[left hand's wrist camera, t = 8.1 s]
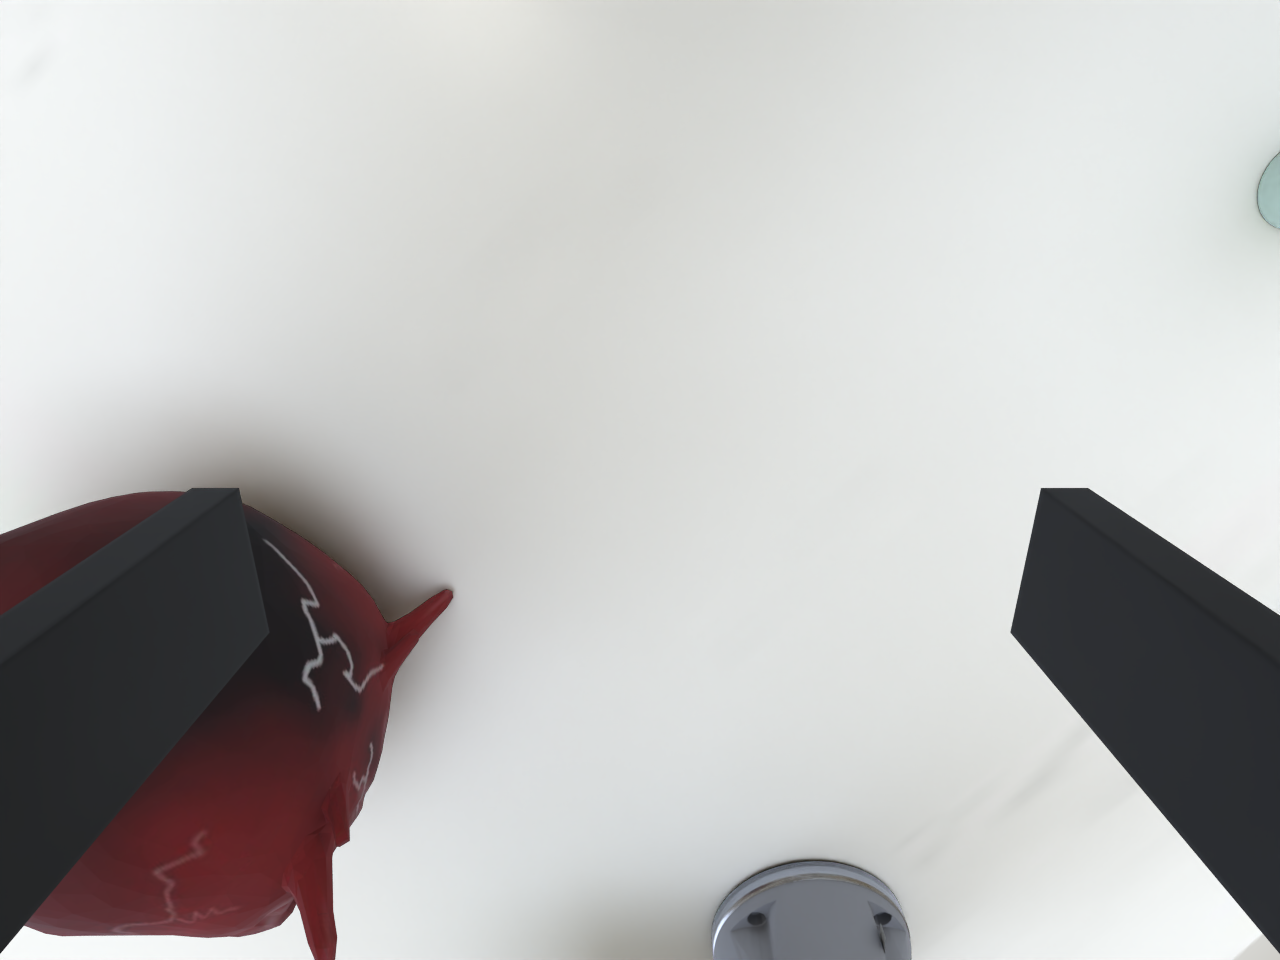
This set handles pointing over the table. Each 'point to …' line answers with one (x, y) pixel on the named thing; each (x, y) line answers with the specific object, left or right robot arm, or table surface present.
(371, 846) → the table surface
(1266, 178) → the bottle
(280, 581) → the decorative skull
